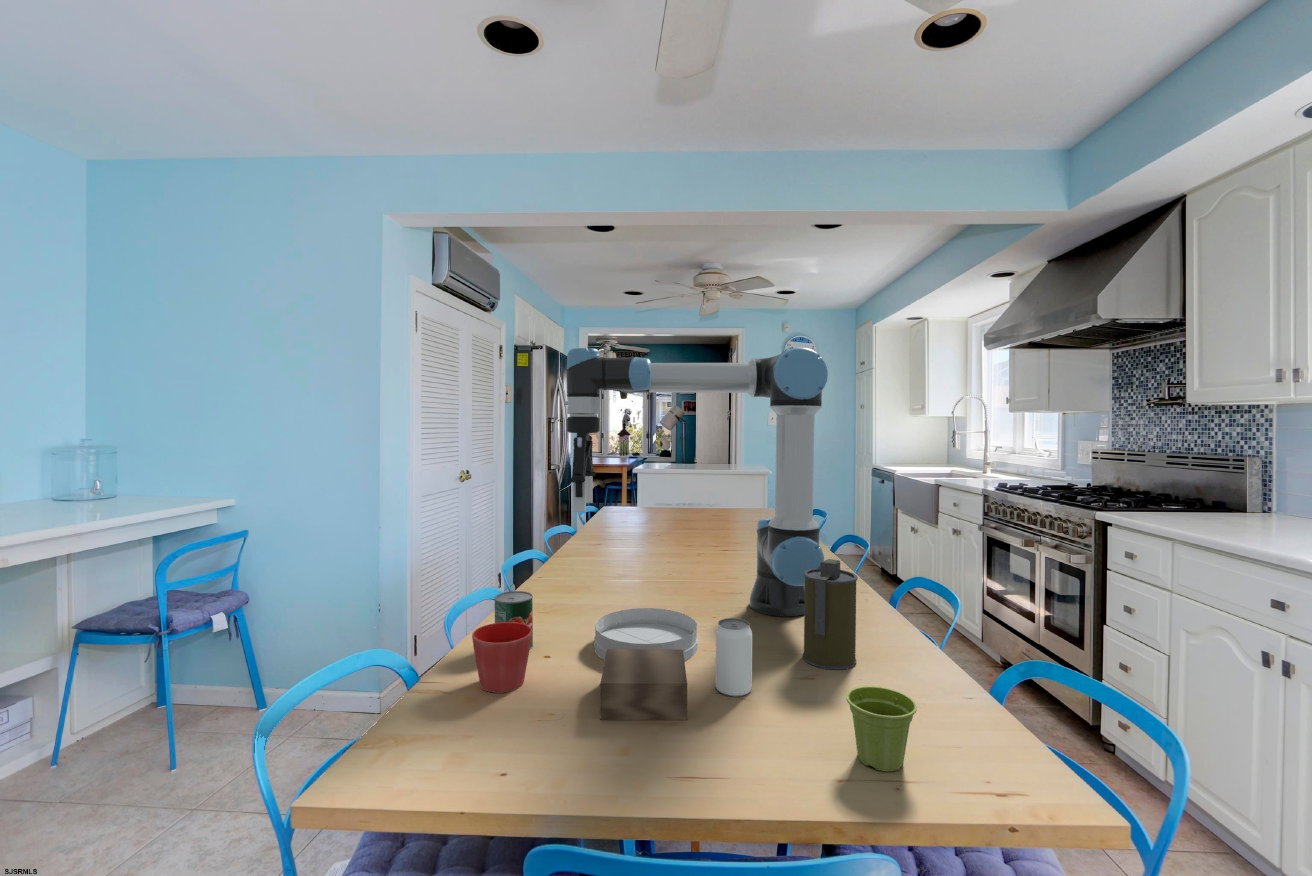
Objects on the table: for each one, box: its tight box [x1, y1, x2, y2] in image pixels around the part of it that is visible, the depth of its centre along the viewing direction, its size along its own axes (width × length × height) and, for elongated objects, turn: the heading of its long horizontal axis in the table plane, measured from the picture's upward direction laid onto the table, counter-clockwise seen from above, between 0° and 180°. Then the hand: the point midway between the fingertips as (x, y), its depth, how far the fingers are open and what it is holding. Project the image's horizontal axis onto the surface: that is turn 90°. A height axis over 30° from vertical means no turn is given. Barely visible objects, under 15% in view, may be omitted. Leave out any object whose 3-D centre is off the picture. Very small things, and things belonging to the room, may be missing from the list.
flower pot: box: [471, 622, 532, 694], centre depth 108 cm, size 11×11×10 cm
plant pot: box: [845, 685, 918, 772], centre depth 85 cm, size 9×9×9 cm
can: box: [715, 617, 753, 698], centre depth 107 cm, size 6×6×12 cm
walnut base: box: [599, 649, 688, 721], centre depth 103 cm, size 14×14×6 cm
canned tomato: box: [494, 590, 534, 650], centre depth 125 cm, size 8×8×11 cm
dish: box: [593, 607, 699, 662], centre depth 127 cm, size 22×22×5 cm
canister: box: [802, 558, 858, 671], centre depth 120 cm, size 11×10×20 cm
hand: (583, 507), depth 138 cm, fingers open, 13 cm apart
